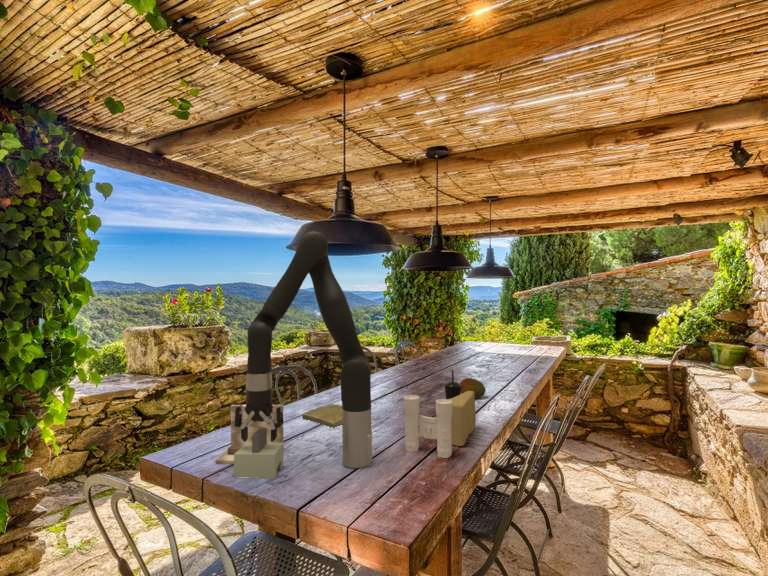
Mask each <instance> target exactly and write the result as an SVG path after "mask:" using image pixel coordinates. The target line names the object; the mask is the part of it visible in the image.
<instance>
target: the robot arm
mask: <svg viewBox="0 0 768 576" xmlns="http://www.w3.org/2000/svg"><path fill="white" fill-rule="evenodd" d="M328 250H329V242H328V239H327V237H326V236H325V235H324V234H323V233H321V232H319V231H315V230H312V231H308V232H306V233H305V234H303V235H302V236H301V237H300V240H299V242H298V246H297V248H296V250H295V253H294V256H293V258H292V260H291V262H290V263H289V265H288V266H287V268H286V269H285V272H284V273H283V275H282V276H281V278H280V279H279V280H278V282H277V283H276V285H275V287H274V288H273V290H272V291H271V292H270V294H269V296H268V297H267V299H266V300H265V302H264V304H263V306H262V308H261V310H260V311H258V314H257V315H256V316H255V318H254V319H253V320H252V322H251V323H250V325H249V327H248V329H247V332H246V334H247V351H248V353H247V354H248V355H247V362H246V363H247V364H246V365H247V366H246V367H247V368H246V370H247V371H246V372H247V373H246V381H245V389H246V392H245V393H246V394H245V396H246V398H245V405H246V407H245V406H242V405H243V404H238V405H239V406H238V407H237V408H236V410H235V427H240V428H241V439H243V441H246V440H247V439H248V427H247V425H248V424H249V422H250V421H251V420H252V421H260V422H263V421H265V422H266V423H267V424H268V425H269V426H270V427H271V442H274V440H275V439H276V438H277V428H278V427H281V426H282V425H283V426H284V406H283V407H282V406H281V405H282V404H279V405H280V406H279V407H273V405H274V404H273V376H272V375H273V374H272V356H271V354H272V345H273V344H272V343H273V331H274V330H275V328H276V326H277V325H278V323H279V322H280V321H281V320H282V319H283V318H284V316H285V315H286V313H287V312H288V310H289V309H290V307H291V305H293V302H294V300H295V298H296V297H297V295H298V293H299V291H300V289H301V287H302V284H303V283H304V281H305V280H306V278H307V276H308V275H309V276H310V279H311V282H312V286H313V290H314V295H315V299H316V303H317V307H318V309H319V311H320V314H321V317H322V321H323V322H324V325H325V327H326V329H327V331H328V332H329V334H330V336H331V338H332V339H333V341H334V342H335V344H336V347H337V349H338V353H339V357H340V360H341V365H342V368H341V370H340V400H341V406H342V426H341V428H342V429H341V431H342V432H341V433H342V434H341V436H342V441H341V442H342V443H341V445H342V447H341V448H342V455H341V456H342V465H343V466H345V467H346V468H350V469H363V468H366V467H371V466H372V461H373V429H372V395H371V394H372V393H371V391H372V390H371V388H372V387H371V386H372V385H371V382H372V381H371V379H372V378H371V375H372V368H371V367H372V366H371V364H370V361H369V359H368V358H367V356H366V354H365V351H364V349H363V347H362V344H361V343H360V340H359V337H358V333H357V328H356V325H355V320H354V318H353V314H352V311H351V308H350V306H349V303H348V300H347V297H346V295H345V293H344V291H343V289H342V287H341V285H340V283H339V282H338V280H337V279H336V276H335V274H334V272H333V269H332V266H331V262H330V259H329V255H328ZM244 410H245V412H246V413H247V415H248V417H247V418H246V419H245V421H244V422H242V413H243V412H244ZM272 411H274V412H275V414H277V423H276V421H275V420H274V417H273V416H272V415H271V413H272Z"/></svg>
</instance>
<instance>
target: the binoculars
mask: <svg viewBox="0 0 768 576" xmlns="http://www.w3.org/2000/svg"><path fill="white" fill-rule="evenodd" d="M403 412H404V418H405V419H404V420H405V421H404V422H405V423H404V425H405V426H404V428H405V429H404V436H405V437H404V447H405V449H406V450H407V451H417V450H418V449H419V446H420V440H419V438H422V437H423V438H424V439H428V440H436V441H437V445H436V453H437V457H438V456H439V457H442V458H448V457H450V456H451V455H452V452H453V445H452V443H451V418H452V401H451V400H448V399H446V398H441V399H436V400H435V414H436V417H431V416H430V417H429V416H426V415H423V414H419V413H420V396H419V395H415V394H408V395H404V396H403ZM405 449H404V450H405ZM406 450H405V451H406ZM419 450H420V449H419ZM419 450H418V451H419ZM407 451H406V452H407ZM418 451H417V452H418ZM452 456H453V455H452ZM439 457H438V458H439Z"/></svg>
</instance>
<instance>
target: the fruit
mask: <svg viewBox="0 0 768 576" xmlns="http://www.w3.org/2000/svg"><path fill="white" fill-rule="evenodd" d="M460 384H462V386H461V394H463V393H464V392H466V391H474V394H475V399H478V398H477V397H479V398H481V397H483V396H484V395H485V393H487V392H486V390H487V389H486V386H485V385H484V383H482V382H481V381H480V380H477V379H474V378H472V377H467V378H464V379H462V380H461V381H460Z"/></svg>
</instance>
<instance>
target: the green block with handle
mask: <svg viewBox="0 0 768 576" xmlns="http://www.w3.org/2000/svg"><path fill="white" fill-rule="evenodd" d="M284 448H285V447H284V442H283V443H267V428H260V429H259V430H258V431H257V432H256V433H255V434H253V435H252V443H245V444H244V445H243V446H242V447H241V448H240V449H239V450H238V451H237V452H236V453H235V454H234V464H233V478H234V477H259V478H258V479H276V478H277V476H278V469H277V468H280V469H279V470H281V469H282V468H283V467H282V466H284V463H285V461H284V455H285V454H284V451H285V450H284ZM276 475H277V476H276Z"/></svg>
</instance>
